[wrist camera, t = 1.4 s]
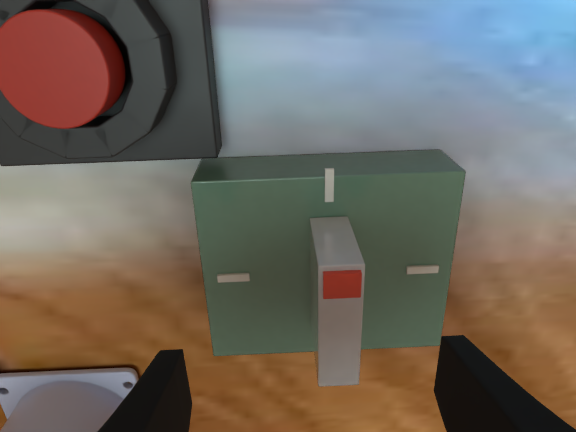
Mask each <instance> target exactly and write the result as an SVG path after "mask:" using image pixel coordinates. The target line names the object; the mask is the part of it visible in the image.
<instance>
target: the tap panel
mask: <svg viewBox="0 0 576 432" xmlns="http://www.w3.org/2000/svg"><path fill="white" fill-rule="evenodd" d="M465 173H466V172H465V170H464V169H463V168H461V167H460V166H459V165H458V164H457V163H455V162H454V161H453V160H452V159H451V158H450V157H448V156H447V155H446V154H445V153H444V152H443V151H441V150H415V151H389V152H363V153H338V154H312V155H286V156H260V157H234V158H209V159H201V161H200V163H199V166H198V168H197V170H196V172H195V174H194V176H193V179H192V181H191V189H192V196H193V204H194V211H195V219H196V227H197V234H198V242H199V249H200V257H201V264H202V272H203V280H204V287H205V295H206V302H207V310H208V318H209V325H210V333H211V340H212V348H213V355H214V356H229V355H250V354H272V353H294V352H314V347H313V339H312V331H311V309H310V218H320V217H345V216H347V217H348V218H349V221H350V224H351V226H352V229H353V232H354V235H355V238H356V240H357V243H358V246H359V249H360V251H361V254H362V257H363V260H364V262H365V279H364V299H363V318H362V337H361V349H380V348H402V347H423V346H439V345H440V341H441V334H442V327H443V320H444V314H445V307H446V300H447V294H448V287H449V280H450V273H451V267H452V260H453V253H454V247H455V240H456V233H457V226H458V220H459V213H460V206H461V200H462V193H463V186H464V179H465Z"/></svg>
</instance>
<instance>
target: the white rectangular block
mask: <svg viewBox="0 0 576 432" xmlns="http://www.w3.org/2000/svg"><path fill="white" fill-rule="evenodd" d="M364 279H365V262H364V260H363V257H362V254H361V251H360V249H359V246H358V243H357V240H356V238H355V235H354V232H353V229H352V226H351V224H350V221H349V218H348V217H347V216H345V217H320V218H310V309H311V331H312V339H313V347H314V355H315V364H316V372H317V380H318V386H319V387H321V386H342V385H359V376H360V357H361V337H362V318H363V299H364Z"/></svg>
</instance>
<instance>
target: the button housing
mask: <svg viewBox="0 0 576 432" xmlns="http://www.w3.org/2000/svg"><path fill="white" fill-rule="evenodd" d="M35 9H68V10H73V11H77V12H80V13H83V14H85V15H87V16H89V17H91V18H92V19H94V20H96V21H97V22H98V23H100V24H101V25H102V26H103V27H104V28H105V29H106V30H107V31H108V32H109V33H110V34H111V36H112V37H113V38H114V40H115V41H116V43H117V45H118V47H119V49H120V51H121V54H122V56H123V60H124V64H125V83H124V87H123V91H122V93H121V95H120V97H119V99H118V100H117V102H116V103H115V104H114V105H113V106H112V107H111V108H110V109H109V110H107V111H106V112H104V113H103V114H101V115H99V116H98V117H96V118H95V119H93V120H92V121H90V122H88V123H86V124H84V125H82V126H79V127H75V128H69V129H58V128H51V127H47V126H44V125H41V124H39V123H36V122H34V121H32V120H30V119H28V118H27V117H25V116H24V115H22V114H21V113H20V112H19V111H18V110H16V109H15V108H14V107H13V106H12V105H11V104H10V103H9V101H8V100H7V99H6V98H5V96H4V95H3V93H2V92H1V90H0V165H1V166H20V165H45V164H71V163H97V162H123V161H149V160H174V159H200V158H217V157H218V154H219V152H220V149H221V146H222V144H221V133H220V123H219V113H218V102H217V92H216V81H215V71H214V61H213V50H212V40H211V30H210V19H209V9H208V0H0V27H1V26H2V25H3V24H4V23H5V22H6V21H7V20H8V19H9V18H11V17H12V16H14V15H16V14H18V13H20V12H24V11H27V10H35Z"/></svg>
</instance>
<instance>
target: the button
mask: <svg viewBox="0 0 576 432" xmlns="http://www.w3.org/2000/svg"><path fill="white" fill-rule="evenodd" d="M124 83H125V64H124V60H123V56H122V54H121V51H120V49H119V47H118V45H117V43H116V41H115V40H114V38H113V37H112V36H111V34H110V33H109V32H108V31H107V30H106V29H105V28H104V27H103V26H102V25H101V24H100V23H98V22H97V21H96V20H94V19H92V18H91V17H89V16H87V15H85V14H83V13H80V12H77V11H73V10H68V9H35V10H27V11H24V12H20V13H18V14H16V15H14V16H12V17H11V18H9V19H8V20H7V21H6V22H5V23H4V24H3V25H2V26H1V27H0V90H1V92H2V93H3V95H4V96H5V98H6V99H7V100H8V101H9V103H10V104H11V105H12V106H13V107H14V108H15V109H16V110H18V111H19V112H20V113H21V114H22V115H24V116H25V117H27V118H28V119H30V120H32V121H34V122H36V123H39V124H41V125H44V126H47V127H51V128H58V129H69V128H75V127H79V126H82V125H84V124H86V123H88V122H90V121H92V120H93V119H95V118H96V117H98V116H99V115H101V114H103V113H104V112H106V111H107V110H109V109H110V108H111V107H112V106H113V105H114V104H115V103H116V102H117V100H118V99H119V97H120V95H121V93H122V91H123V87H124Z"/></svg>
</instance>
